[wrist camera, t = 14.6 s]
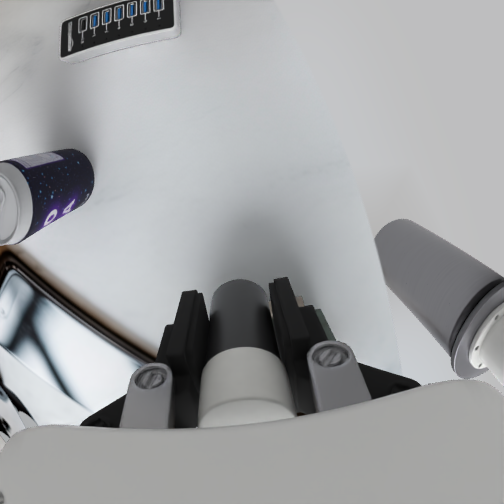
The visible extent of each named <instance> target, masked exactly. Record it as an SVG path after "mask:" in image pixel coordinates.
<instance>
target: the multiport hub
mask: <svg viewBox="0 0 504 504" xmlns="http://www.w3.org/2000/svg"><path fill="white" fill-rule="evenodd" d="M180 34H181V27H180V5H179V0H121V1H118V2H114V3H111V4H108V5H104V6H101V7H98V8H95V9H92V10H89V11H87V12H84V13H81V14H78V15H76V16H73V17H71V18H68V19H66V20H64V21H62V22H61V24H60V39H59V59H60V60H62V61H65V62H67V63H70V64H75V63H78V62H81V61H84V60H87V59H90V58H94V57H97V56H100V55H103V54H107V53H110V52H114V51H118V50H121V49H125V48H129V47H133V46H138V45H142V44H147V43H151V42H156V41H161V40H167V39H172V38H177V37H179V36H180Z"/></svg>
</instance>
